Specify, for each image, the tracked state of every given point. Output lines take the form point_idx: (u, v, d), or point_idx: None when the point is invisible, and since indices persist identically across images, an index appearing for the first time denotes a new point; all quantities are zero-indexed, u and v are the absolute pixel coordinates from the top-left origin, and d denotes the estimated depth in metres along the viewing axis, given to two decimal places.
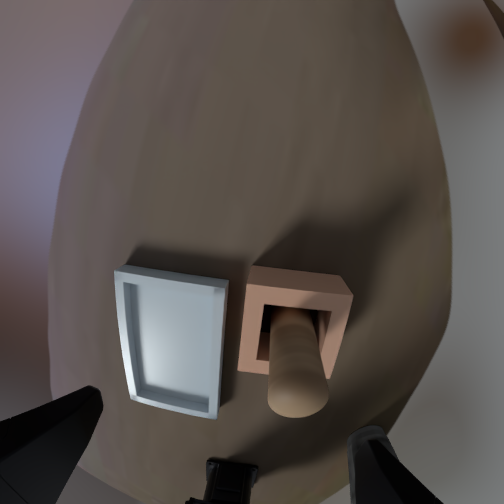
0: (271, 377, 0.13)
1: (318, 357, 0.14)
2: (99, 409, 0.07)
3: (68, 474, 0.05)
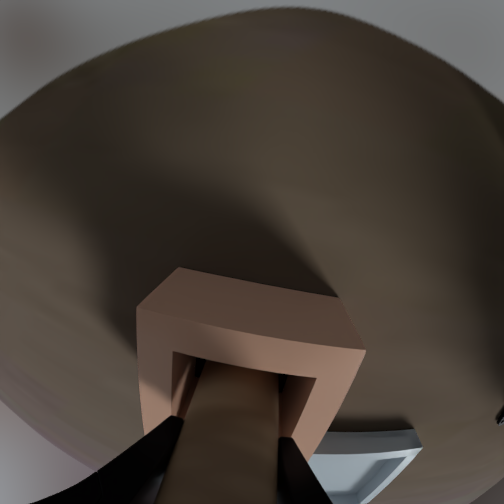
0: None
1: (171, 484, 0.04)
2: None
3: None
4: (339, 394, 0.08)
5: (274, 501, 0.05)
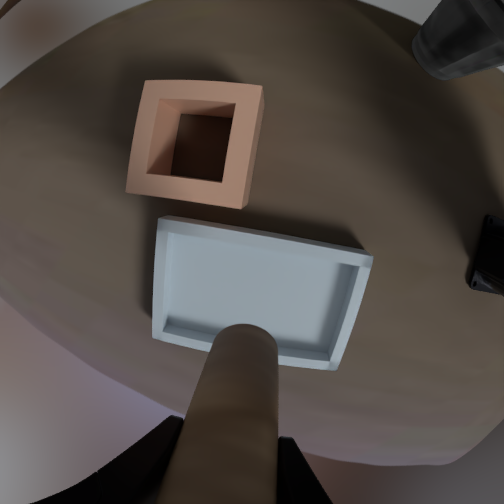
0: None
1: (171, 484, 0.04)
2: None
3: None
4: (252, 115, 0.13)
5: (274, 502, 0.05)
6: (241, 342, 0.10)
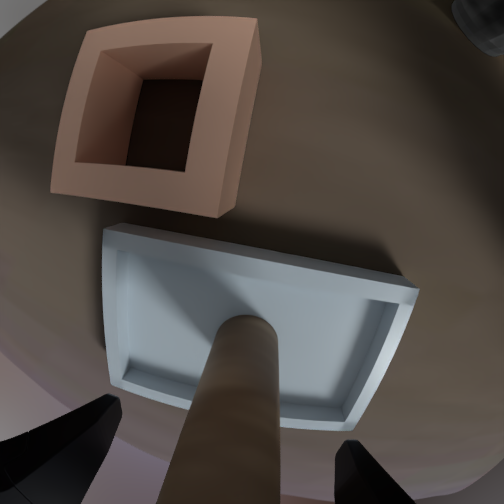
0: None
1: (182, 457, 0.05)
2: (118, 417, 0.07)
3: (88, 485, 0.05)
4: (238, 60, 0.07)
5: (278, 474, 0.05)
6: (244, 331, 0.11)
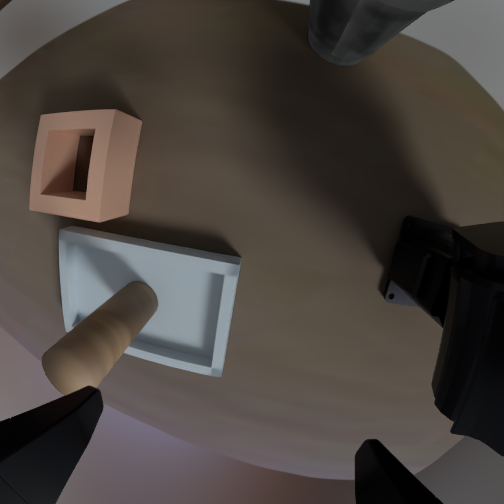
0: None
1: (67, 333, 0.12)
2: (99, 409, 0.07)
3: (68, 474, 0.05)
4: (106, 138, 0.14)
5: (106, 350, 0.12)
6: (129, 288, 0.18)
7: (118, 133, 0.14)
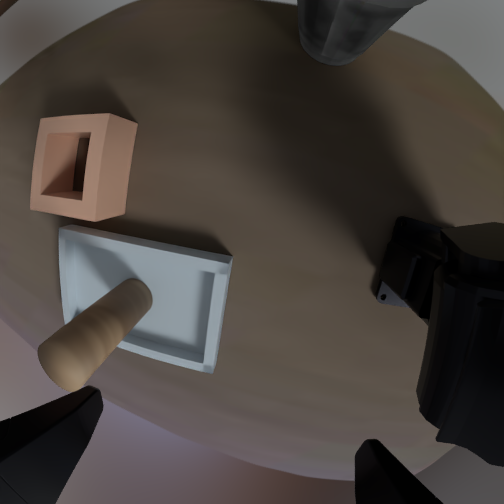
0: None
1: (62, 327, 0.12)
2: (99, 409, 0.07)
3: (68, 474, 0.05)
4: (100, 141, 0.14)
5: (98, 344, 0.13)
6: (124, 285, 0.18)
7: (113, 136, 0.15)
